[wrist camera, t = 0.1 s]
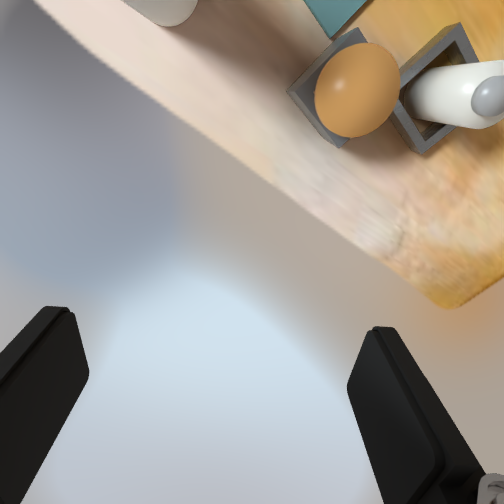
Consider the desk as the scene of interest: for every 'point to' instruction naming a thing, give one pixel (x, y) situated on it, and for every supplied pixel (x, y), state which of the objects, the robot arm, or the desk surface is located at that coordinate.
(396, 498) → the robot arm
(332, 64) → the plunger
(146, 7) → the cylindrical container
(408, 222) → the desk surface
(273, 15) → the desk surface
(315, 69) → the plunger housing
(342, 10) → the pad
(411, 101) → the cylinder
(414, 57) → the frame
